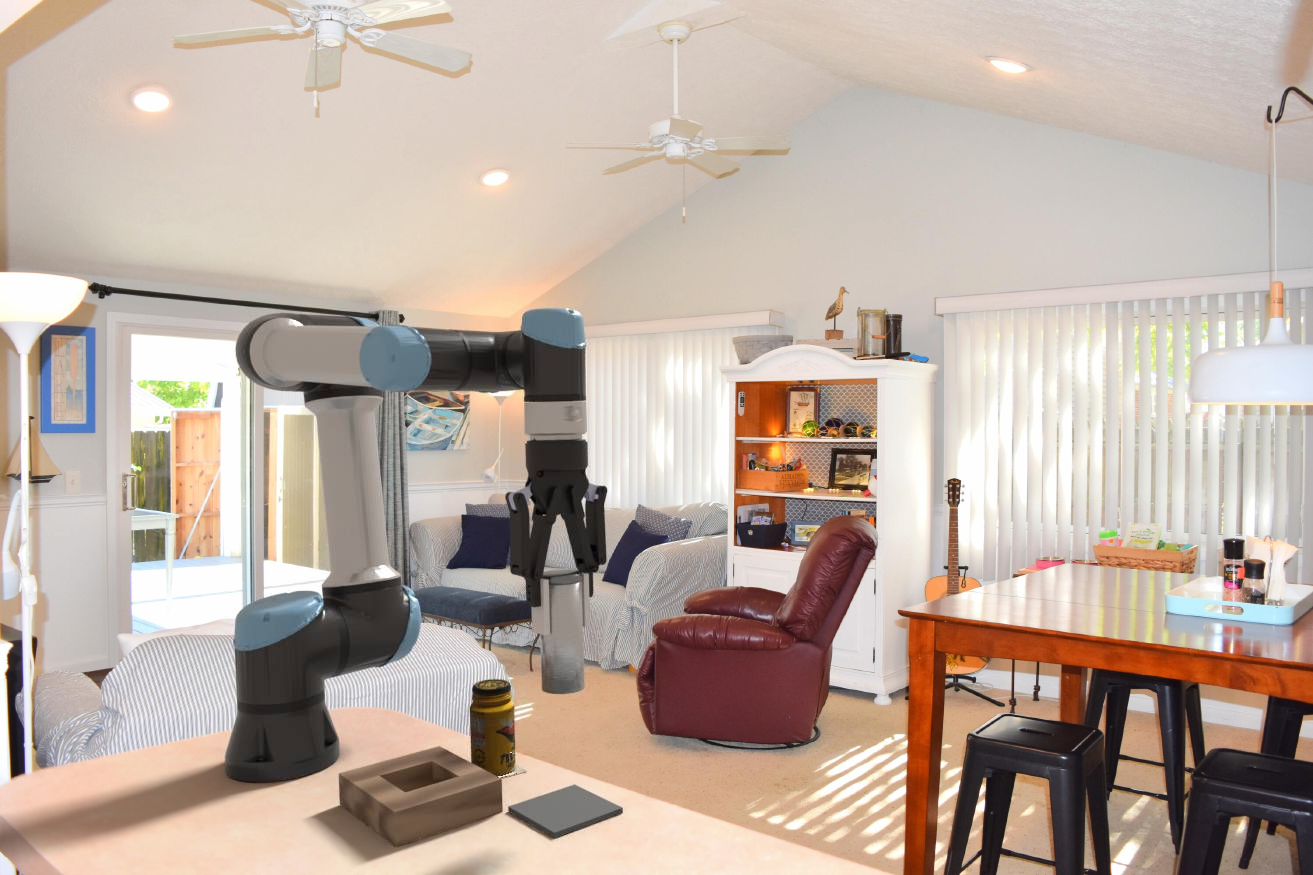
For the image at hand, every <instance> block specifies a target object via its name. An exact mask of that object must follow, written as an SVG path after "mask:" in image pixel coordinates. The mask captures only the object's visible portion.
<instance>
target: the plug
mask: <svg viewBox="0 0 1313 875" xmlns="http://www.w3.org/2000/svg"><path fill="white" fill-rule="evenodd" d="M542 579H547V580H549V611H550V634H549V635H542V634H539V636H540V638H539V639H540V641H539V642H540V644H539V645H540V671H541V672H540V675H541V681H540V682H541V691H542V692H543V693H546V694H551V695H567V694H574V693H575V694H576V693H578V692H580V691H583V690H584V689H585V686H586V685H585V658H584V657H585V655H584V654H585V653H584V652H585V650H584V627H583V606H582V572H581V571H578V569H552V570H547V571H546V570H545V571H544V572H543V577H542Z"/></svg>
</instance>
